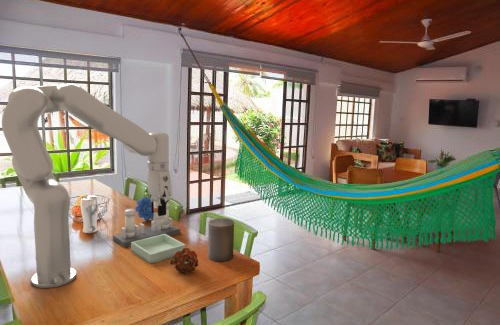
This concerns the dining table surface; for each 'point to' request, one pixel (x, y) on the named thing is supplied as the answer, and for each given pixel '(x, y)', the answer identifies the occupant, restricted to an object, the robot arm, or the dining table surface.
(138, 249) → the tray
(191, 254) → the dark red rosette
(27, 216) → the dining table surface
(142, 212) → the grapes
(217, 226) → the pillar candle
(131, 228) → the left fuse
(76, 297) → the dining table surface
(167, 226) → the ball
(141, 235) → the fuse holder
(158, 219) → the cylinder
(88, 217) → the beer glass
